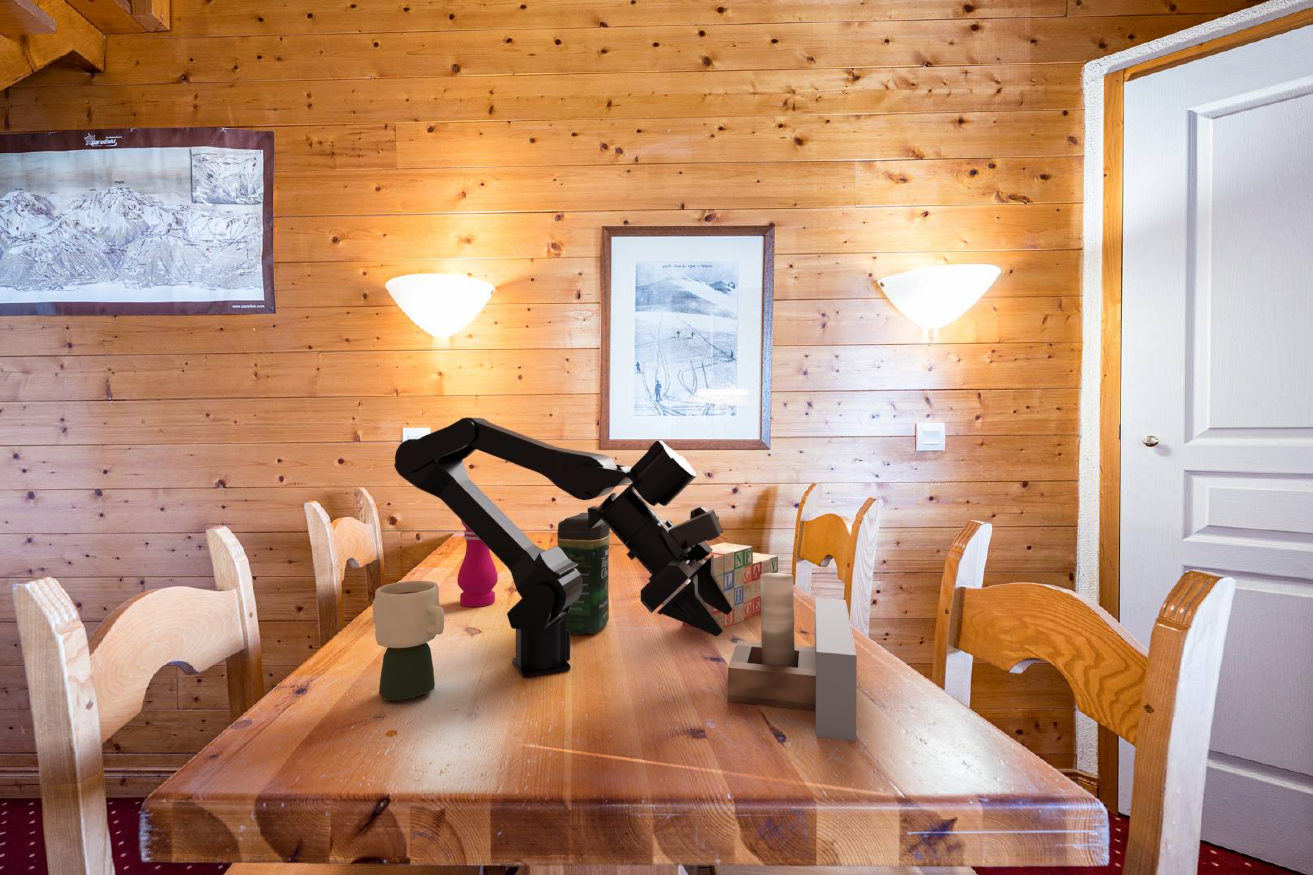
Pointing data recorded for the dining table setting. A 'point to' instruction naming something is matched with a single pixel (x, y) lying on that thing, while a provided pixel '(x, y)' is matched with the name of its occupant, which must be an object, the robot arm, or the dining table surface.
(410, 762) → the dining table surface
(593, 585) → the coffee jar
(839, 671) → the board
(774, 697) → the socket block
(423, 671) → the character mug
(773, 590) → the dowel
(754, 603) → the stack of blocks
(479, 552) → the pepper mill
